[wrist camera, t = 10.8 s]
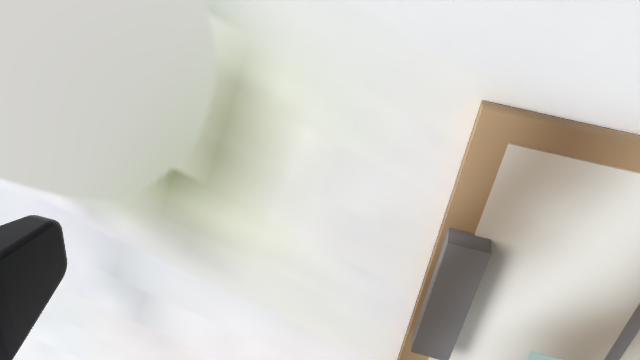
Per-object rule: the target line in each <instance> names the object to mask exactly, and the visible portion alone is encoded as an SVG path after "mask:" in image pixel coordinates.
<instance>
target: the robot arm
mask: <svg viewBox="0 0 640 360" xmlns="http://www.w3.org/2000/svg"><path fill="white" fill-rule="evenodd" d="M66 268H67V257H66V250H65V244H64V238H63V232H62V227H61V225H60V224H59V222H57V221H56V220H52V219H49V218H45V217H41V216H37V215H30V216H27V217H24V218H21V219H18V220H15V221H13V222H10V223H7V224H4V225H1V226H0V360H12V359H13V358H14V356H15V355H16V353H17V352H18V350H19V349H20V347H21V345H22V344H23V342H24V340H25V339H26V337H27V336H28V334H29V332H30V331H31V329H32V327H33V326H34V324H35V323H36V321H37V319H38V318H39V316H40V314H41V313H42V311H43V310H44V308H45V306H46V305H47V303H48V301H49V300H50V298H51V297H52V295H53V293H54V292H55V290H56V288H57V287H58V285H59V284H60V282H61V280H62V279H63V277H64V274H65V272H66Z"/></svg>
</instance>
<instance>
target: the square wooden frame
mask: <svg viewBox="0 0 640 360" xmlns="http://www.w3.org/2000/svg"><path fill="white" fill-rule="evenodd" d="M397 360H640V135H636V134H631V133H627V132H622V131H618V130H613V129H609V128H604V127H600V126H595V125H591V124H586V123H582V122H577V121H573V120H568V119H564V118H559V117H555V116H550V115H546V114H541V113H537V112H532V111H528V110H523V109H519V108H514V107H510V106H505V105H501V104H496V103H492V102H487V101H483V100H482V102H481V105H480V108H479V111H478V114H477V117H476V120H475V124H474V127H473V130H472V133H471V136H470V139H469V142H468V145H467V148H466V151H465V154H464V157H463V160H462V163H461V166H460V169H459V172H458V176H457V179H456V182H455V185H454V188H453V191H452V194H451V197H450V200H449V203H448V206H447V209H446V212H445V215H444V218H443V221H442V224H441V228H440V231H439V234H438V237H437V240H436V243H435V246H434V249H433V252H432V255H431V258H430V261H429V264H428V267H427V270H426V273H425V276H424V280H423V283H422V286H421V289H420V292H419V295H418V298H417V301H416V304H415V307H414V310H413V313H412V316H411V319H410V322H409V325H408V329H407V332H406V335H405V338H404V341H403V344H402V347H401V350H400V353H399V356H398V359H397Z"/></svg>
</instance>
